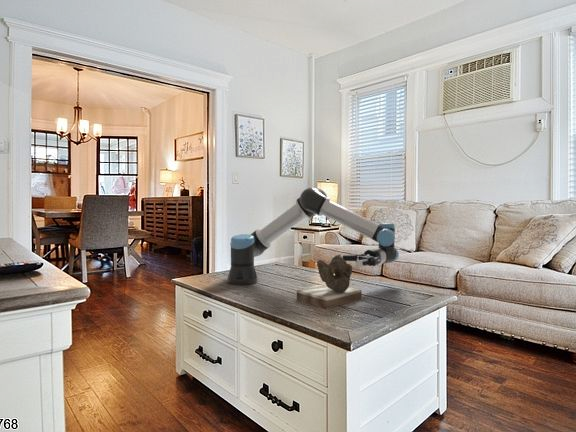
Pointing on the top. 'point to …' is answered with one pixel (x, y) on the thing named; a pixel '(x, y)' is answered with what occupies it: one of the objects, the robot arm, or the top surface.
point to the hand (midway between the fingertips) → (344, 261)
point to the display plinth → (328, 296)
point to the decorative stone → (338, 268)
